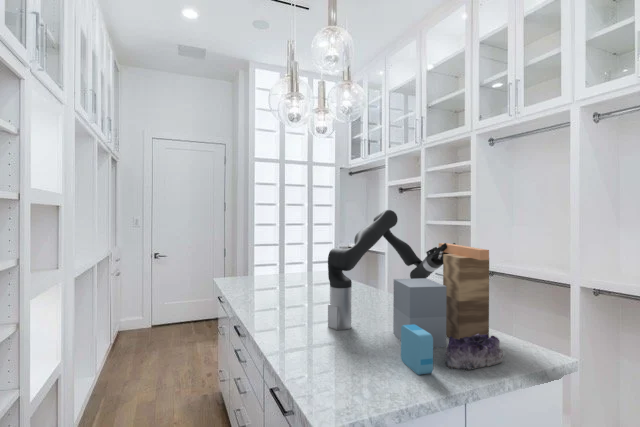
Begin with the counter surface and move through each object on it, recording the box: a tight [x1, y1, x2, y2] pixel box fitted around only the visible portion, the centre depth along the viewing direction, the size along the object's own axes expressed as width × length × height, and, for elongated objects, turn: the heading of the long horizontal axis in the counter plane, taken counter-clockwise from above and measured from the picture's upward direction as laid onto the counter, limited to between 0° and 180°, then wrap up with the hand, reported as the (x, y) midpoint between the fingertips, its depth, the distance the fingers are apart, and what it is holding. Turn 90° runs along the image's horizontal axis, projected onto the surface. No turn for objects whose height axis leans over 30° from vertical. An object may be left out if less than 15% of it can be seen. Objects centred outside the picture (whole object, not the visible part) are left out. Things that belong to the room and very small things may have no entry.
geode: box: [444, 334, 504, 371], centre depth 114 cm, size 20×12×10 cm, turn 116°
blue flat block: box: [400, 324, 434, 376], centre depth 110 cm, size 12×4×12 cm, turn 14°
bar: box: [438, 242, 490, 261], centre depth 140 cm, size 30×4×4 cm, turn 9°
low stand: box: [392, 277, 447, 349], centre depth 134 cm, size 16×14×22 cm
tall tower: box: [442, 254, 490, 339], centre depth 137 cm, size 12×12×32 cm
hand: (450, 245), depth 148 cm, fingers closed on bar, 3 cm apart
